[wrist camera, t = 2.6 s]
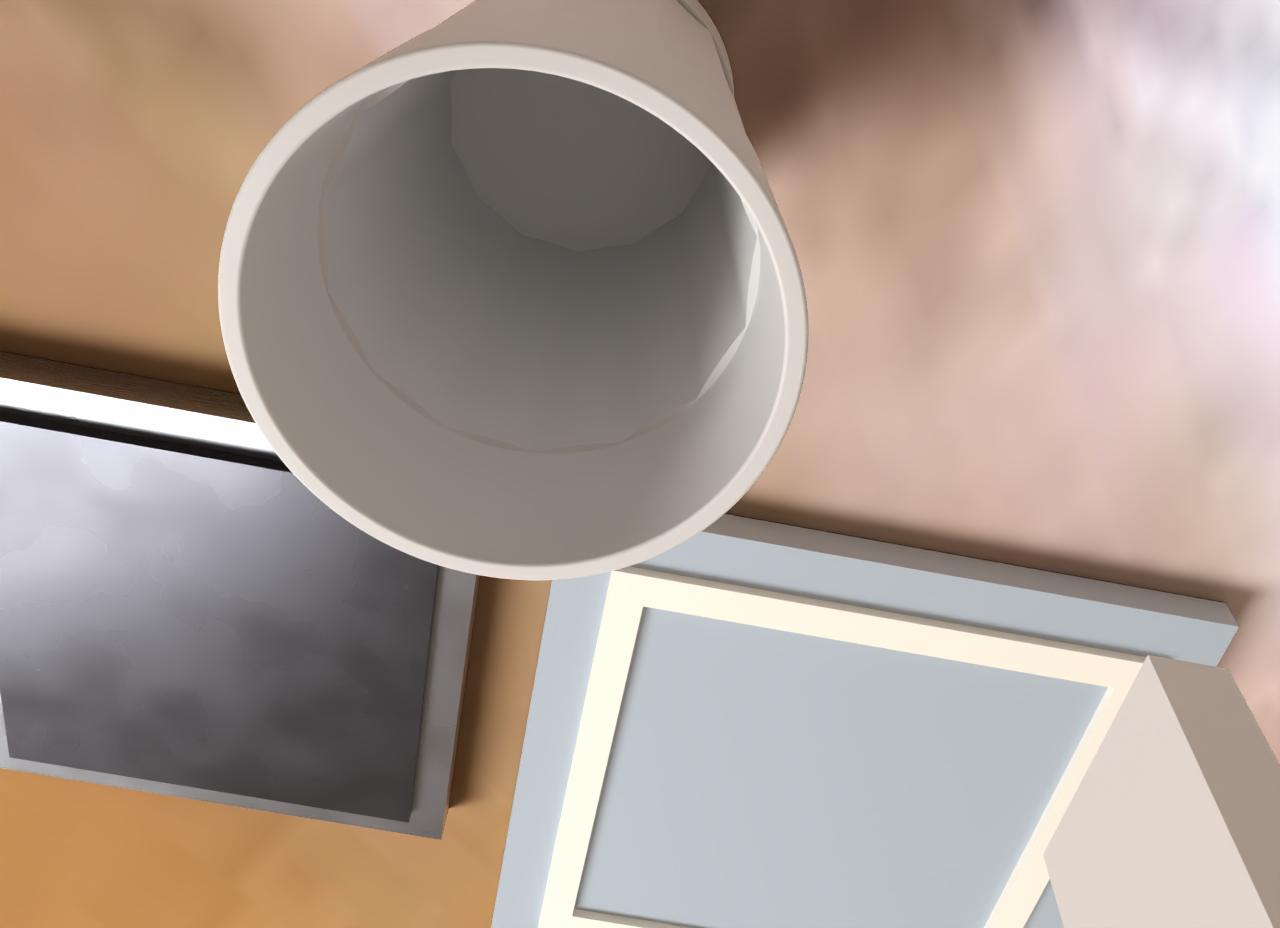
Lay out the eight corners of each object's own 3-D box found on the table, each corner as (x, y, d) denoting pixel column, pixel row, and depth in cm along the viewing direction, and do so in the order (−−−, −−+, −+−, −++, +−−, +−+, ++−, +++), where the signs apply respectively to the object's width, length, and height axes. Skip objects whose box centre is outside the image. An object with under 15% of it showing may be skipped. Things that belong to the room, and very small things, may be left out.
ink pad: (6, 737, 38) (-21, 775, 37) (-52, 342, 31) (-87, 371, 29) (448, 809, 39) (438, 850, 37) (498, 440, 31) (488, 473, 30)
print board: (493, 919, 41) (486, 952, 40) (568, 486, 32) (563, 514, 31) (1003, 1000, 42) (1011, 1035, 41) (1225, 603, 33) (1243, 634, 32)
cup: (661, -177, 24) (620, -92, 13) (833, 174, 27) (903, 453, 17) (336, 27, 26) (91, 232, 16) (532, 326, 29) (436, 650, 19)
